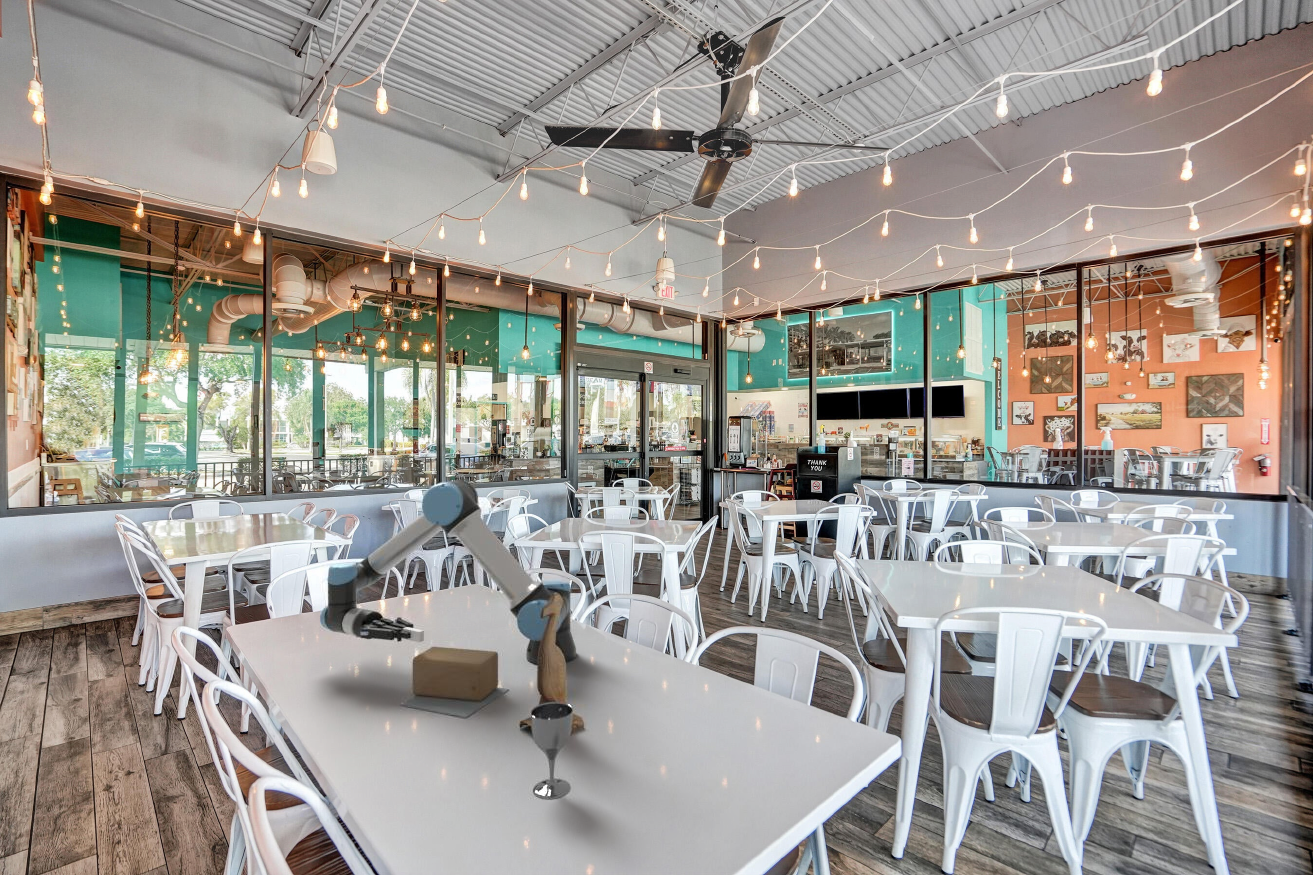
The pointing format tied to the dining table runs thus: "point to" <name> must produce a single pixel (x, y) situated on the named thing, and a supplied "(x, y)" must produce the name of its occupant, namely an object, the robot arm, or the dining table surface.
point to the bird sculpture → (552, 663)
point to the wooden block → (455, 673)
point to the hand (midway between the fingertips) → (421, 636)
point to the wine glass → (551, 743)
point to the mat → (452, 703)
